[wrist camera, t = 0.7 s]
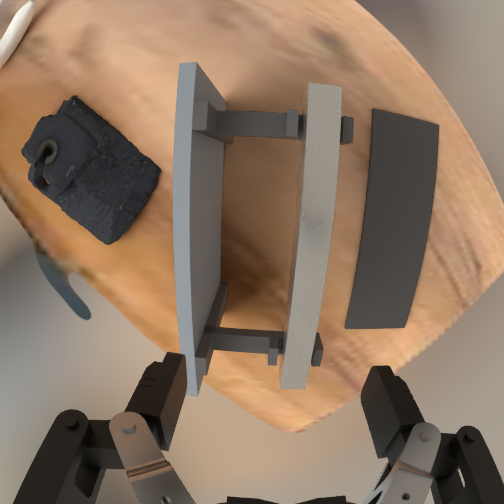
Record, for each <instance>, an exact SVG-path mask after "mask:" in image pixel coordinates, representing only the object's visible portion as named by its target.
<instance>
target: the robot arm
mask: <svg viewBox="0 0 504 504" xmlns="http://www.w3.org/2000/svg"><path fill="white" fill-rule="evenodd" d="M186 391H187V367H186V356H185V354H179V353H172V352H167V353H166V356H165V358H164V360H163V362H162V363H161V362H156V361H154V362H153V363H152V364H151V365H149V366H148V367H147V368H146V370H145V371H144V373H143V375H142V378H141V379H140V381H139V384H138V385H137V387H136V389H135V392H134V393H133V395H132V397H131V399H130V401H129V403H128V406H127V407H126V410H125V411H124V412H122V413H119V414H117V415H115V416H114V417H113V418H112V419H111V420H88V418H87V417H86V415H85V414H84V413H82V412H81V411H78V410H72V409H71V410H66V411H64V412H61V413H60V414H59V415H58V416H57V417H56V419H55V421H54V423H53V424H52V426H51V428H50V430H49V432H48V434H47V435H46V437H45V439H44V441H43V443H42V445H41V447H40V448H39V450H38V452H37V454H36V456H35V458H34V460H33V462H32V464H31V466H30V468H29V470H28V472H27V474H26V476H25V478H24V480H23V483H22V485H21V487H20V489H19V491H18V493H17V496H16V498H15V500H14V503H13V504H95V501H96V498H97V495H98V492H99V489H100V486H101V483H102V480H103V477H104V474H105V471H106V469H125V470H126V472H127V476H128V479H129V481H130V483H131V485H132V487H133V489H134V491H135V493H136V495H137V497H138V499H139V501H140V503H141V504H196V503H195V501H194V500H193V498H192V497H191V495H190V494H189V492H188V491H187V489H186V488H185V486H184V485H183V483H182V482H181V480H180V478H179V477H178V475H177V474H176V472H175V470H174V469H173V467H172V466H171V464H170V463H169V462H167V460H166V459H165V457H164V456H163V454H162V452H161V450H165V451H169V447H170V444H171V441H172V437H173V434H174V431H175V427H176V424H177V421H178V417H179V414H180V411H181V408H182V404H183V401H184V398H185V395H186ZM361 404H362V407H363V410H364V413H365V416H366V420H367V423H368V426H369V430H370V433H371V436H372V439H373V443H374V446H375V450H376V453H377V457H378V459H379V458H385V457H387V458H388V463H387V464H386V466H385V468H384V469H383V471H382V473H381V475H380V477H379V479H378V480H377V482H376V484H375V486H374V487H373V489H372V491H371V493H370V494H369V496H368V497H367V498H366V500H365V501H364V502H363V503H362V504H424V502H425V500H426V497H427V495H428V492H429V489H430V488H431V491H432V495H433V499H434V503H435V504H504V484H503V481H502V479H501V476H500V474H499V472H498V469H497V467H496V465H495V462H494V460H493V458H492V456H491V454H490V451H489V449H488V447H487V445H486V443H485V441H484V439H483V437H482V435H481V433H480V431H479V430H478V429H476V428H475V427H472V426H464V427H461V428H460V429H459V431H458V432H457V433H456V434H448V433H440V431H439V429H438V428H437V427H436V426H434V425H433V424H430V423H427V422H425V421H424V418H423V416H422V414H421V412H420V410H419V408H418V406H417V404H416V402H415V400H414V399H413V396H412V394H411V393H410V390H409V388H408V386H407V384H406V383H405V382H404V381H403V380H402V379H401V378H400V377H399V376H395V375H394V373H393V371H392V369H391V368H390V366H388V365H386V366H373V367H371V369H370V372H369V374H368V377H367V379H366V382H365V384H364V386H363V389H362V392H361ZM459 469H460V470H461V473H462V476H463V478H464V481H465V487H463V484H462V481H461V478H460V475H459V472H458V470H459ZM218 504H278V503H274V502H269V501H265V500H261V499H254V498H239V497H227V502H226V503H218ZM297 504H355V503H350V502H346V497H345V496H336V497H327V498H316V499H313V500H309V501H306V502H301V503H297Z"/></svg>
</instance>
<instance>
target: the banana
mask: <svg viewBox="0 0 504 504" xmlns="http://www.w3.org/2000/svg"><path fill="white" fill-rule="evenodd" d="M35 7H36V0H30V1H28V2H27V3H26V4H25V5H24V6H22V7H21V8H20V10H19V11H18V12H17V13H16V15H15V16H14V18H13V20H12V22H11V23H10V25H9V27H8V29H7V31H6V32H5V34H4V36H3V38H2V39H1V41H0V68H1V67H2V66H3V65H4V64H5V63H6V61H7V60H8V59H9V58H10V56H11V55H12V53H13V52H14V50H15V49H16V47H17V46H18V44H19V42H20V41H21V39H22V37H23V35H24V33H25V32H26V30H27V28H28V26H29V24H30V22H31V20H32V18H33V15H34V12H35Z"/></svg>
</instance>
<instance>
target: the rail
mask: <svg viewBox="0 0 504 504" xmlns="http://www.w3.org/2000/svg"><path fill="white" fill-rule="evenodd" d="M341 103H342V87H339V86H333V85H326V84H318V83H310V82H309V83H308V84H307V86H306V88H305V90H304V91H303V112H302V133H301V150H300V166H299V181H298V195H297V207H296V220H295V231H294V242H293V253H292V263H291V273H290V282H289V291H288V300H287V309H286V318H285V326H284V334H283V342H282V350H281V357H280V365H279V383H280V389H305V385H306V381H307V376H308V372H309V367H310V362H311V357H312V353H313V348H314V342H315V337H316V332H317V327H318V321H319V315H320V310H321V304H322V298H323V291H324V285H325V279H326V272H327V265H328V258H329V250H330V242H331V234H332V226H333V217H334V208H335V198H336V187H337V175H338V162H339V147H340V129H341Z"/></svg>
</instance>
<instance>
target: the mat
mask: <svg viewBox="0 0 504 504" xmlns="http://www.w3.org/2000/svg"><path fill="white" fill-rule="evenodd" d="M438 137H439V125H437V124H434V123H430V122H427V121H423V120H419V119H416V118H412V117H408V116H404V115H400V114H395V113H391V112H386V111H382V110H377V109H372V130H371V149H370V163H369V175H368V186H367V196H366V205H365V213H364V221H363V228H362V235H361V242H360V249H359V255H358V261H357V267H356V273H355V278H354V283H353V289H352V294H351V299H350V304H349V308H348V313H347V318H346V322H345V329H383V328H405V325H406V322H407V318H408V315H409V312H410V308H411V305H412V301H413V298H414V294H415V290H416V286H417V282H418V278H419V274H420V270H421V266H422V261H423V256H424V252H425V247H426V242H427V236H428V231H429V225H430V219H431V212H432V205H433V198H434V189H435V180H436V169H437V156H438Z"/></svg>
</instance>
